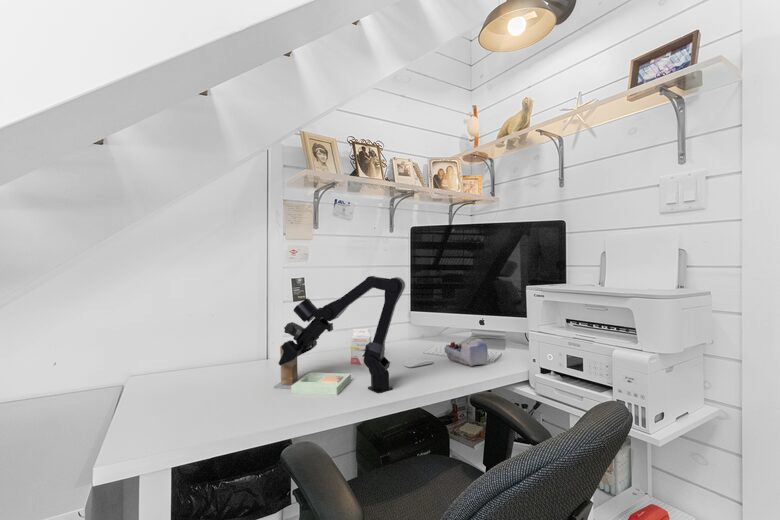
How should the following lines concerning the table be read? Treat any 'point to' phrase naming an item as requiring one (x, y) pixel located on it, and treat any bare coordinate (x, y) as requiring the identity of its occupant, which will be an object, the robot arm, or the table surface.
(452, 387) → the table surface
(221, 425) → the table surface
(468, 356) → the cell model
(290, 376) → the walnut block
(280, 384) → the grey mat
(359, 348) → the ink cartridge box
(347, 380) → the puzzle board
